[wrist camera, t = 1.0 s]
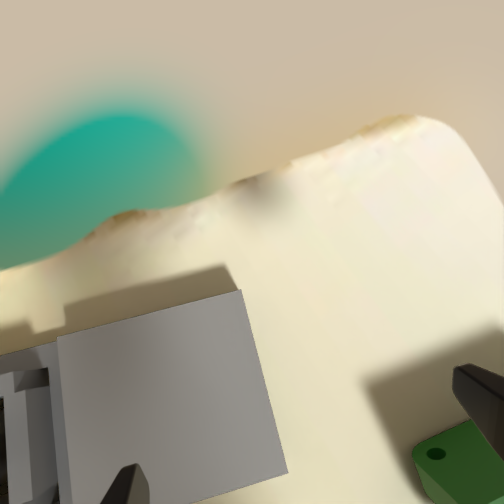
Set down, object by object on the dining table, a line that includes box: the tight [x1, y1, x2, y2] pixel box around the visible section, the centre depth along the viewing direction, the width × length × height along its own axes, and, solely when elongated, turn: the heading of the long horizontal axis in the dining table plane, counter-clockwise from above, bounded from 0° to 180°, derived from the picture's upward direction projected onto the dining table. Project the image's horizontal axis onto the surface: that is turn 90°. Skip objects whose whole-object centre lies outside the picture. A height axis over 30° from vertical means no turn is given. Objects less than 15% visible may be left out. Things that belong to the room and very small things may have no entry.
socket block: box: [0, 289, 288, 504], centre depth 20 cm, size 11×23×4 cm, turn 105°
